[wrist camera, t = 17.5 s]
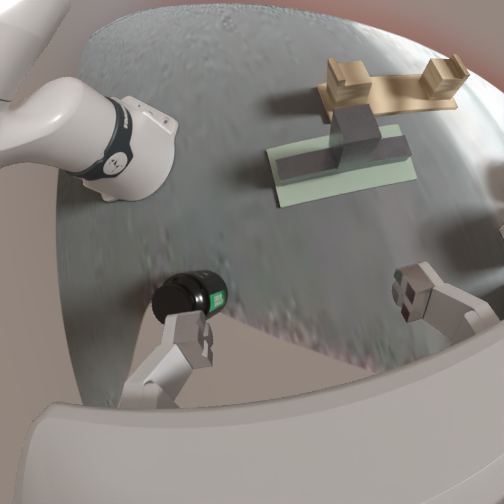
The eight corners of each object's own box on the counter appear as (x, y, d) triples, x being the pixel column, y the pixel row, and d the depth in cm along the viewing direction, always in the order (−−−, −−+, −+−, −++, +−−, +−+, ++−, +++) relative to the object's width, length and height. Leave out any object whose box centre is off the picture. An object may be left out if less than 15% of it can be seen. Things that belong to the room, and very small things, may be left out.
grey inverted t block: (283, 189, 39) (271, 159, 26) (277, 163, 39) (261, 124, 26) (406, 164, 35) (441, 129, 23) (397, 139, 35) (427, 98, 23)
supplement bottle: (237, 288, 41) (209, 301, 29) (212, 324, 41) (178, 347, 30) (201, 260, 42) (161, 262, 30) (178, 296, 43) (134, 309, 31)
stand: (330, 123, 38) (334, 91, 29) (317, 88, 38) (316, 52, 29) (455, 109, 33) (478, 83, 24) (439, 77, 34) (457, 47, 24)
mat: (281, 208, 39) (280, 207, 39) (266, 150, 40) (266, 149, 39) (416, 179, 35) (417, 178, 35) (396, 125, 36) (397, 124, 35)
